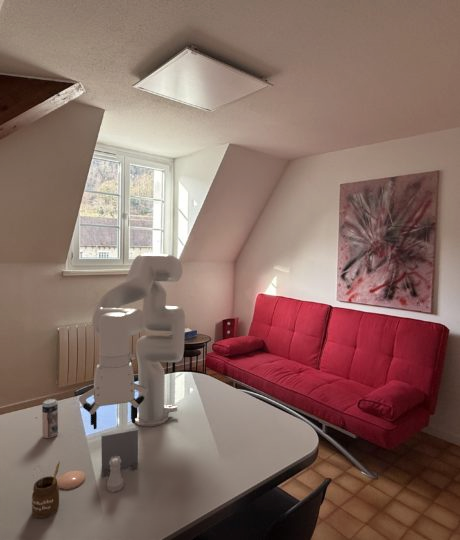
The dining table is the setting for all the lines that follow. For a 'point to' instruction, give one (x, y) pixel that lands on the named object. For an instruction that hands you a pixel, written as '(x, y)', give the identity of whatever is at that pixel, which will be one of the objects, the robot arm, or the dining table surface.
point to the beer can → (50, 418)
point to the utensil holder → (45, 495)
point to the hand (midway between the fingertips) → (114, 423)
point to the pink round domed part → (71, 479)
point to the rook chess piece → (115, 475)
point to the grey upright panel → (120, 449)
